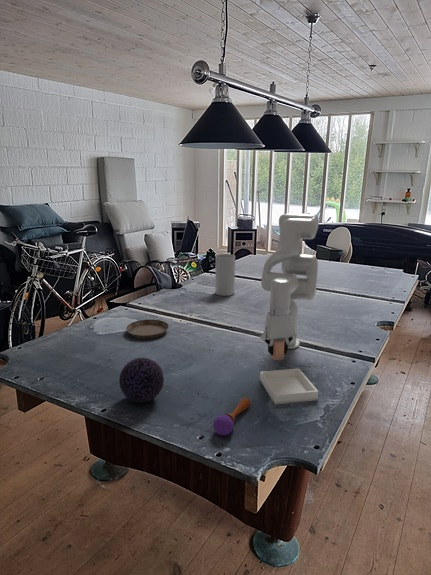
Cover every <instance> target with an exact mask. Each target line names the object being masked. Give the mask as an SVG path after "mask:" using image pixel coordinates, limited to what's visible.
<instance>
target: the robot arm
mask: <svg viewBox="0 0 431 575" xmlns="http://www.w3.org/2000/svg"><path fill="white" fill-rule="evenodd" d="M319 221H320V220H319V216H318V215H317V214H314V213H296V212H291V213H283V214H281V215H280V216H279V218H278V229H279V237H278V242H277V250H275V251H274V252H273V253H272V254H270V256H268V258H267V259H266V261H265V263H264V264H263V269H262V274H261V281H260V283H261V288H262V289H263V290H264V291H267V292H269V293H270V294H269V312H267V314H266V316H265V317H266V318H265V324H264V331H263V333H261V334H260V336H259V338H260V339H261V340H262V341H263V342H264V343H266V344H267V352H268V354H270V356H271V355H273V345H272V344H273V341H274V339H280V338H285V346H284V355H287V353H288V350H291V349H293V350H294V349H296V348H298V347H299V346H300V341H299V340H298V339H297V336H298V335H297V334H298V332H297V331H298V318H299V317H298V316H299V306H298V304H297V303H296V301H295V300H299V301H313V300H314V299H315V297H316V293H317V281H318V270H319V268H318V267H319V265H318V264H319V263H318V259H317V257H316V256H315V255H313V254H303V242H302V240H314V239H315V238H316V235H317V232H318V229H319V224H320V222H319ZM280 263H281V268H280V269H281V272H273V271H271V270H272V269H273V268H274V267H275V266H276V265H278V264H280ZM298 276H302V277H303V276H304V277H305V278H301V277H298Z"/></svg>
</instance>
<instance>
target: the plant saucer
mask: <svg viewBox="0 0 431 575" xmlns="http://www.w3.org/2000/svg"><path fill="white" fill-rule="evenodd" d="M169 327H170V326H169V323H167V322H166V321H164V320H161V319H160V320H159V319H151V318H149V319H141V320H137V321H133V322H131V323H129V324H127V325H126V328H125V329H126V331H127V333H128V334H129V335H131V336H132V337H133V338H136V339H140V338H142V340H143V339H145V340H146V339H147V340H148V339H150V338H151V339H156V338H158V337H162V336H163V335H164V334H166V332H168V330H169V329H170V328H169ZM134 330H135V331H136V332H134ZM131 332H132V333H131ZM133 333H135V334H133ZM151 339H150V340H151Z"/></svg>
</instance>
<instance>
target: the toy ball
mask: <svg viewBox="0 0 431 575" xmlns="http://www.w3.org/2000/svg"><path fill="white" fill-rule="evenodd" d="M164 380H165V378H164V372H163V370H162V368H161V366H160V365H159V364H158V363H157V362H156V361H155V360H152V359H151V358H147V357H138V358H134V359H131V360H130V361H129V362H127V363H126V364H125V365H124V367H123V368H122V369H121V372H120V375H119V381H118V382H119V388H120V390H121V393H123V395H124V396H125V397H126V398H127V399H128V400H130V401H132V402H134V403H146V402H150V401H152V400H153V399H155V398H157V396H158V395H159V394H160V393H161V391H162V389H163V386H164Z"/></svg>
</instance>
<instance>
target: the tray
mask: <svg viewBox="0 0 431 575" xmlns="http://www.w3.org/2000/svg"><path fill="white" fill-rule="evenodd" d="M259 381H260V383H261V384H262V386H263V388H264V389H265V391H266V392H267V395H269V397H270V399H271V401H272V402H273V404H274V405H275V406H276V405H286V404H296V403H304V402H315V401H316V402H317V401H318V400H319V390H318V388H316V387H315V385H314V384H313V383H312V382H311V381H310V380H309V378H308V377H307V376H306V375H305V374H304V372H303V371H302V370H301V369H300V367H299V368H289V369H279V370H277V369H276V370H265V371H264V370H263V371H260V372H259Z"/></svg>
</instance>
